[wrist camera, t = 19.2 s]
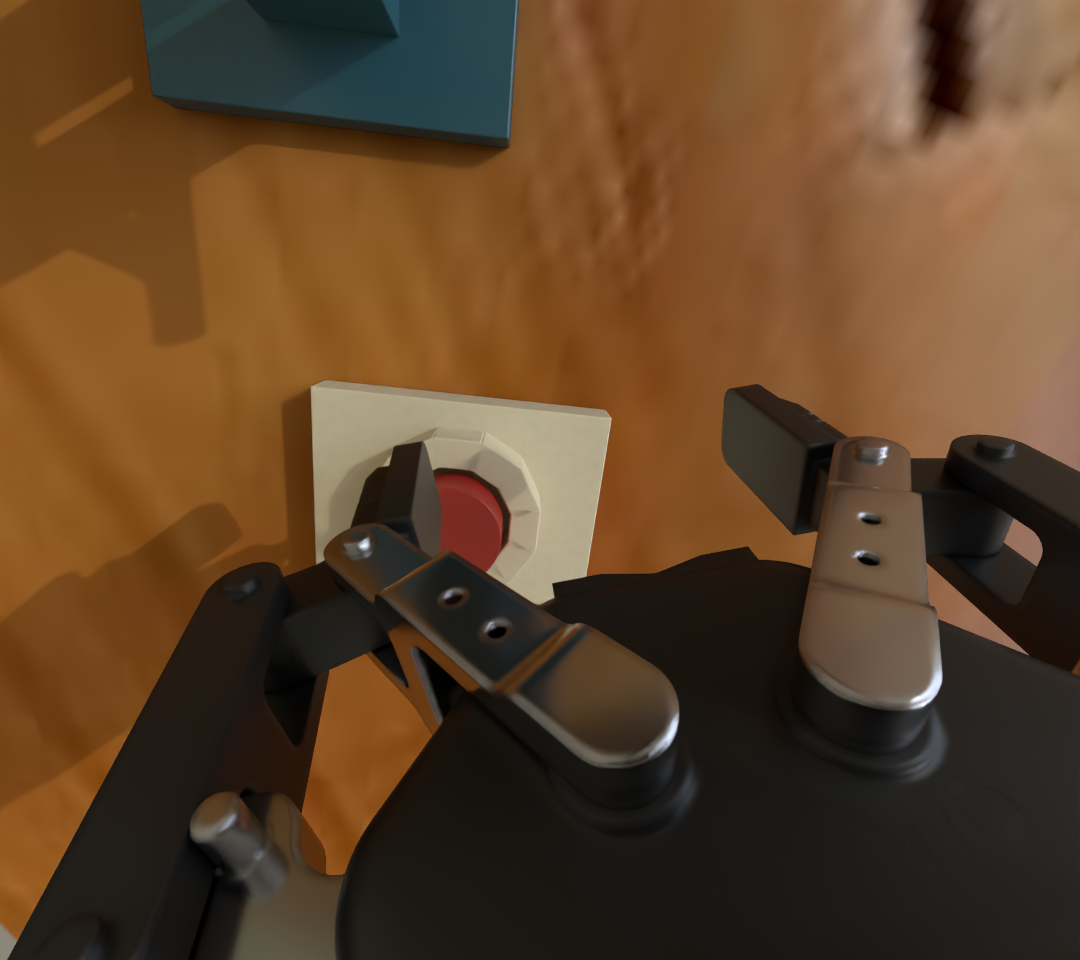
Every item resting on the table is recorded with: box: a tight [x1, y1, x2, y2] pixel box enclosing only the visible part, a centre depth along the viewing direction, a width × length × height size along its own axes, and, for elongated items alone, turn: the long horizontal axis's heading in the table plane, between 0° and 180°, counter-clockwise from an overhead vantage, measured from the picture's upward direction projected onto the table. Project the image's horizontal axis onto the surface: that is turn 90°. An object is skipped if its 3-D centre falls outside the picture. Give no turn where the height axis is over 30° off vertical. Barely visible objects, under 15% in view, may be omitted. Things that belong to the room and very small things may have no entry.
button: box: [434, 473, 503, 572], centre depth 20 cm, size 4×4×2 cm
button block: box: [311, 380, 611, 604], centre depth 22 cm, size 12×9×4 cm
